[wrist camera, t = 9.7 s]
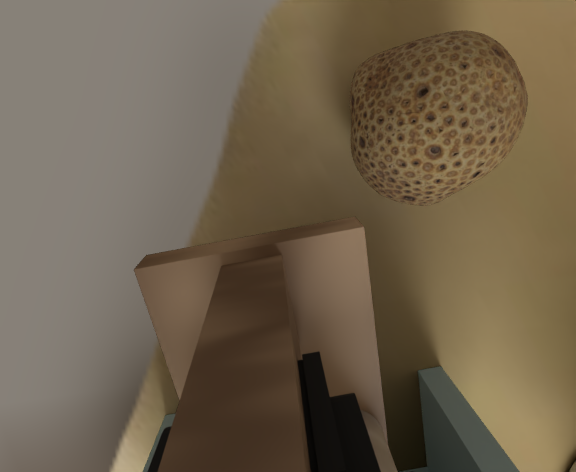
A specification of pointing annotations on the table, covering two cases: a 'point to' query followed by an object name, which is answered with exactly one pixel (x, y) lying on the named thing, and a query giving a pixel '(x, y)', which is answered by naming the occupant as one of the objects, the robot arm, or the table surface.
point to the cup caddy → (263, 343)
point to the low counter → (441, 430)
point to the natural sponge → (435, 115)
